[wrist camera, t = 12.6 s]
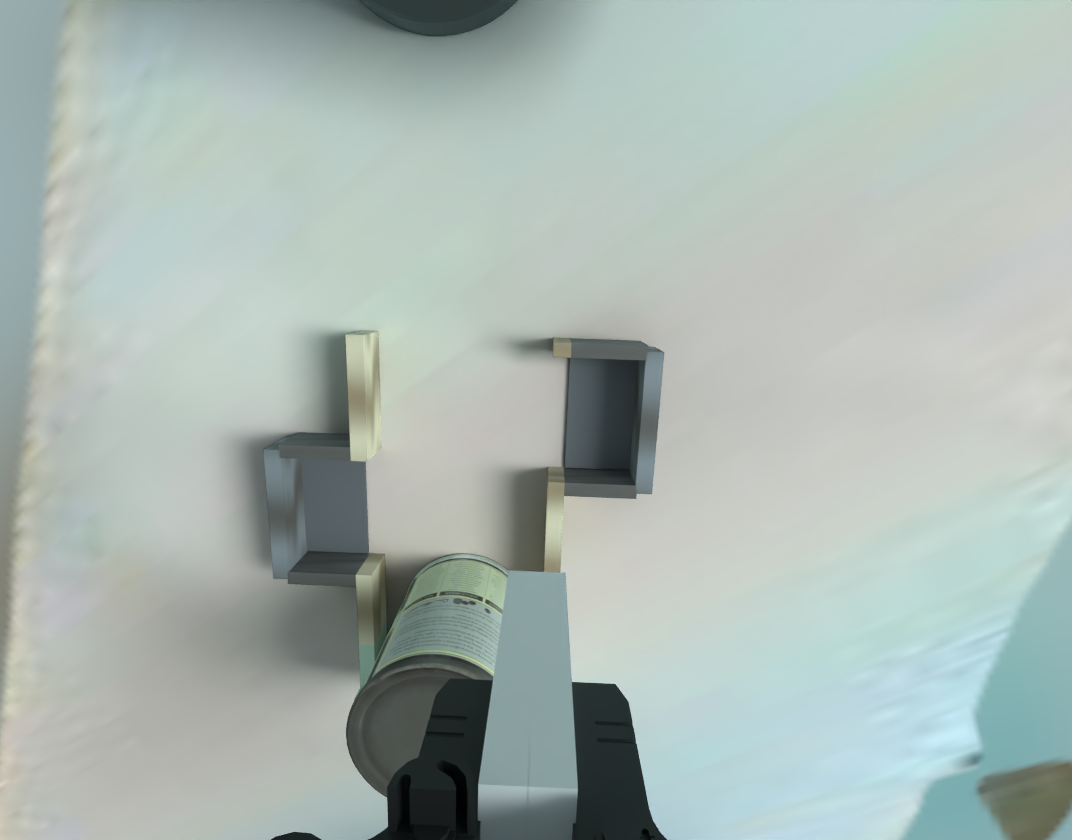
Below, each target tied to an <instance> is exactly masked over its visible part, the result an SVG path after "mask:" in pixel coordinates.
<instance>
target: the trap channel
mask: <svg viewBox="0 0 1072 840" xmlns="http://www.w3.org/2000/svg"><path fill="white" fill-rule="evenodd" d="M345 337H346V360H347V383H348V407H349V430H350V434H329V433H303V432H299V433H297V434H295V435H294V436H292V437H284V438H282V439H281V440H279V441H277V442H275V443H273V444H272V445H270V446H268V447H266V448H265V449H263V454H264V467H265V479H266V492H267V504H268V517H269V530H270V542H271V555H272V567H273V578H274V579H288V584H302V585H325V586H349V587H356V593H357V617H358V640H359V645H373V646H374V645H375V643H376V640H377V638H378V636H379V634H380V632H381V630H382V628H383V626H384V624H385V622H386V620H387V614H386V580H385V554H370V553H346V552H322V551H307V546H306V530H305V514H304V499H303V483H302V468H301V459H317V460H342V461H369V460H370V459H371V458H372V457H373V456H374V455H375V454H376V453H377V452H378V451H379V450H380V449H381V448H382V445H381V411H380V377H379V343H378V331H359V332H354V333H350V334H346V335H345ZM553 357H566V358H593V359H619V360H638V365H637V378H636V391H635V404H634V417H633V430H632V443H631V456H630V469H629V470H612V469H587V468H562V467H548V479H547V503H546V527H545V551H544V572H558V573H560V567H561V547H562V526H563V506H564V496H580V497H604V498H629V499H636V494H652V487H653V475H654V464H655V452H656V441H657V429H658V418H659V406H660V395H661V383H662V372H663V361H664V352H663V351H661V350H659V349H657V348H656V347H648V345H646V344H644V343H643V342H641V341H626V340H599V339H572V338H553Z"/></svg>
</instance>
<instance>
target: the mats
mask: <svg viewBox="0 0 1072 840" xmlns="http://www.w3.org/2000/svg"><path fill="white" fill-rule="evenodd" d="M637 365H638V360H619V359H593V358H570V369H569V390H568V410H567V431H566V451H565V467H572V468H597V469H622V470H629V469H630V456H631V443H632V430H633V417H634V404H635V391H636V378H637ZM301 468H302V483H303V499H304V514H305V530H306V546H307V551H322V552H346V553H369V544H368V516H367V489H366V462H365V461H342V460H317V459H301Z"/></svg>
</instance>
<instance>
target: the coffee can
mask: <svg viewBox="0 0 1072 840" xmlns="http://www.w3.org/2000/svg"><path fill="white" fill-rule="evenodd" d="M508 572H509V571H508V570H507V569H505V568H504V567H503V566H501V565H500V564H498V563H496V562H495V561H493V560H491V559H489V558H486V557H482V556H477V555H473V554H455V555H449V556H446V557H443V558H439V559H437V560H435V561H433V562H431V563H429V564H428V565H427V566H425V567H424V568H423V569H421V570H420V571H419V572H418V574H417V575H416V576H415V577H414V579H413V580H412V582H411V583H410V585H409V588H408V590H407V594H406V597H405V599H404V601H403V603H402V605H401V607H400V609H399V612H398V614H397V616H396V618H395V620H394V623H393V625H392V627H391V629H390V631H389V633H388V635H387V637H386V639H385V642H384V644H383V646H382V648H381V650H380V653H379V655H378V657H377V659H376V661H375V663H374V666H373V668H372V670H371V672H370V674H369V676H368V678H367V681H366V683H365V685H364V687H363V688H362V689H361V691H360V692H359V694H358V695H357V697H356V699H355V701H354V703H353V705H352V708H351V710H350V713H349V716H348V721H347V727H346V739H347V746H348V750H349V754H350V756H351V759H352V761H353V763H354V765H355V766H356V768H357V769H358V771H359V772H360V774H361V775H362V776H363V778H364V779H365V780H366V781H367V782H368V783H369V784H370V785H371V786H372V787H373V788H374V789H375V790H377V791H378V792H379V793H381V794H382V795H384V796H385V797H387V786H388V784H389V783H390V781H391V779H392V777H393V775H394V774H395V772H397V771H398V770H399V769H400V768H401V767H402V766H403V765H405V764H406V763H407V762H408V761H411V760H413V759H415V758H418V757H419V753H420V749H421V746H422V742H423V739H424V736H425V732H426V728H427V724H428V721H429V719H430V714H431V710H432V706H433V703H434V699H435V696H436V694H437V693H438V692H439V691H440V689H441V688H442V687H443V686H444V685H445V684H446V682H447V681H448V680H449V679H450V678H455V679H477V680H493V677H494V670H495V663H496V656H497V649H498V642H499V635H500V628H501V621H502V614H503V607H504V600H505V593H506V586H507V579H508Z"/></svg>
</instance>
